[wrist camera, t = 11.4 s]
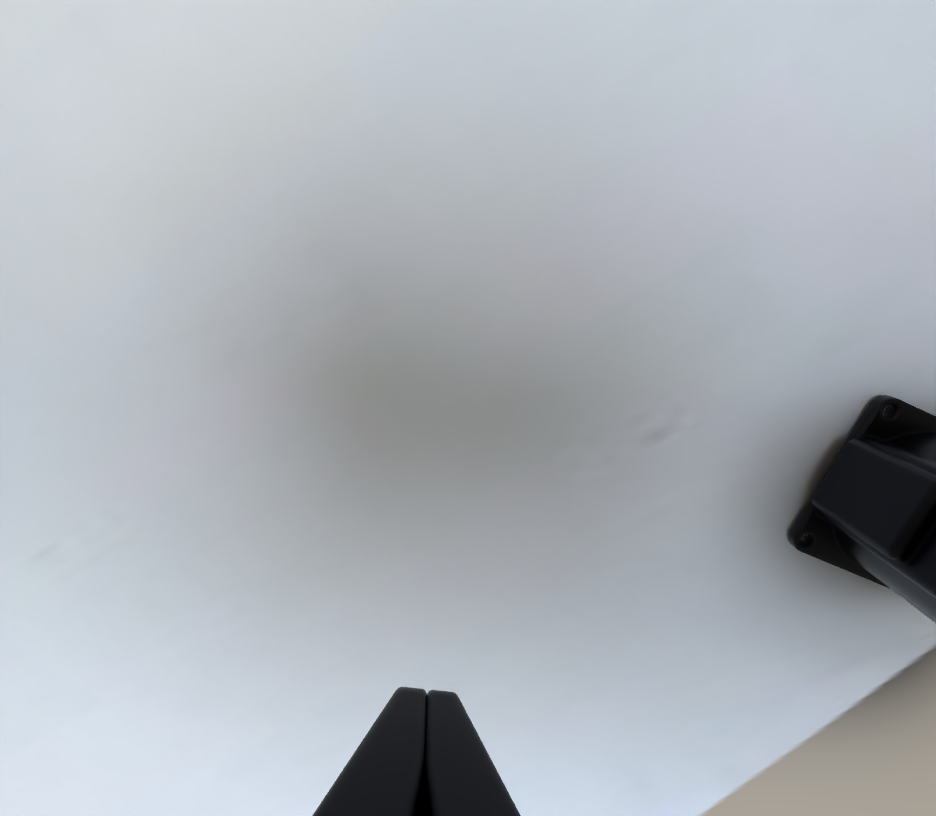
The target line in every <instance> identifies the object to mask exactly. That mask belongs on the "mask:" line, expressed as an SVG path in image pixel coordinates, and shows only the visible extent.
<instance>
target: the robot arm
mask: <svg viewBox="0 0 936 816" xmlns="http://www.w3.org/2000/svg"><path fill="white" fill-rule="evenodd" d="M887 406H889V410H888V412H887V413H886V414H884V415H883V411H884V409H885V408H886V407H887ZM807 534H808V536H807V538H806V539H805V540H803V541H801V538H802V537H803V536H804V535H807ZM788 539H789V541H790V543H791V544H792V545H793V546H794V547H795V548H796V549H798V550H799V551H801V552H803V553H806V554H808V555H811V556H813V557H815V558H818V559H820V560H823V561H825V562H828V563H830V564H832V565H835V566H837V567H840V568H842V569H844V570H847V571H849V572H852V573H854V574H856V575H859V576H861V577H864V578H866V579H869V580H871V581H873V582H876V583H878V584H881V585H883V586H885V587H888V588H890V589H892V590H893V591H894V592H896V593H897V594H898V595H900V596H901V597H902V598H904V599H905V600H906V601H907V602H909V603H910V604H911V605H913V606H914V607H915V608H917V609H918V610H919V611H921V612H922V613H923V614H924V615H926V616H927V617H928V618H930V619H931V620H932V621H934V622H935V623H936V416H934V415H931V414H929V413H927V412H925V411H923V410H921V409H918V408H916V407H914V406H912V405H910V404H908V403H906V402H903V401H901V400H899V399H896V398H893V397H890V396H886V395H884V396H879V397H877V398H876V399H874V400H873V401H872V403H871V404H870V405H869V407H868V409H867V410H866V412H865V413H864V415H863V416H862V418H861V420H860V421H859V423H858V424H857V426H856V428H855V429H854V431H853V432H852V434H851V435H850V437H849V439H848V440H847V442H846V443H845V445H844V446H843V448H842V450H841V451H840V453H839V454H838V456H837V458H836V459H835V461H834V462H833V464H832V465H831V467H830V469H829V470H828V472H827V473H826V475H825V476H824V478H823V480H822V481H821V483H820V484H819V486H818V488H817V489H816V491H815V492H814V494H813V495H812V497H811V499H810V500H809V502H808V503H807V505H806V506H805V508H804V510H803V511H802V513H801V514H800V516H799V518H798V519H797V521H796V522H795V524H794V525H793V527H792V529H791V530H790V532H789V535H788ZM313 816H520V814H519V812H518V810H517V808H516V806H515V804H514V802H513V801H512V799H511V797H510V795H509V793H508V791H507V789H506V787H505V785H504V783H503V781H502V780H501V778H500V776H499V774H498V772H497V770H496V768H495V766H494V764H493V762H492V760H491V758H490V757H489V755H488V753H487V751H486V749H485V747H484V745H483V743H482V741H481V739H480V737H479V736H478V734H477V732H476V730H475V728H474V726H473V724H472V722H471V720H470V718H469V716H468V714H467V713H466V711H465V709H464V707H463V705H462V703H461V701H460V699H459V697H458V696H457V695H456V694H455V693H454V692H447V691H437V690H431V691H429V692H428V693H426V691H425V690H424V689H418V688H409V687H400V688H398V689H397V690H396V691H395V693H394V694H393V696H392V697H391V699H390V700H389V702H388V703H387V705H386V706H385V708H384V709H383V711H382V712H381V714H380V715H379V717H378V718H377V720H376V721H375V723H374V724H373V726H372V727H371V729H370V730H369V732H368V733H367V735H366V736H365V738H364V739H363V741H362V742H361V744H360V745H359V747H358V748H357V750H356V751H355V753H354V754H353V756H352V757H351V759H350V760H349V762H348V763H347V765H346V766H345V768H344V769H343V771H342V772H341V774H340V775H339V777H338V778H337V780H336V781H335V783H334V784H333V786H332V787H331V789H330V790H329V792H328V793H327V795H326V796H325V798H324V799H323V801H322V802H321V804H320V805H319V807H318V808H317V810H316V811H315V813H314V814H313Z"/></svg>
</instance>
